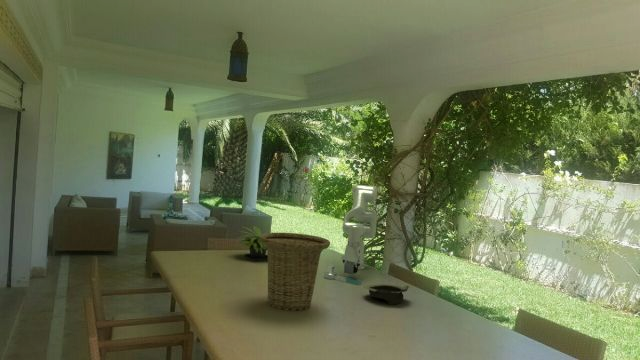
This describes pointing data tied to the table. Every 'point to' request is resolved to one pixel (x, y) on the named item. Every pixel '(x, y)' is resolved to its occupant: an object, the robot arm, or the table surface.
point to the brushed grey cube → (349, 268)
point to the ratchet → (332, 275)
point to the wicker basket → (292, 268)
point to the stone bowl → (387, 292)
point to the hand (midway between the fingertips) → (350, 271)
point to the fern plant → (254, 247)
